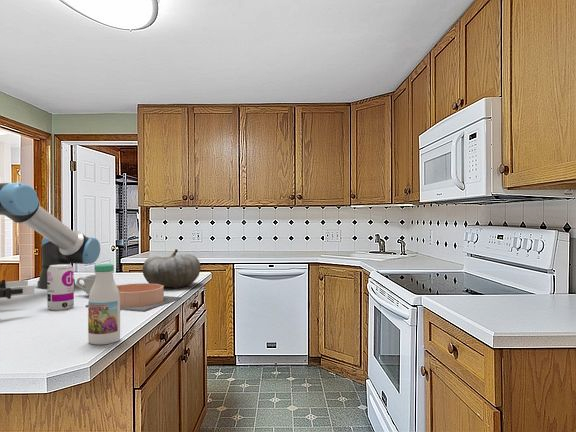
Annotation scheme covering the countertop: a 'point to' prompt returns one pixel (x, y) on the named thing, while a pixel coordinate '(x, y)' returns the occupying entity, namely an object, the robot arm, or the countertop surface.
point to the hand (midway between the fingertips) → (30, 286)
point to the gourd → (172, 270)
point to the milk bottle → (104, 307)
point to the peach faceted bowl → (142, 296)
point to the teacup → (86, 283)
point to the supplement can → (60, 287)
